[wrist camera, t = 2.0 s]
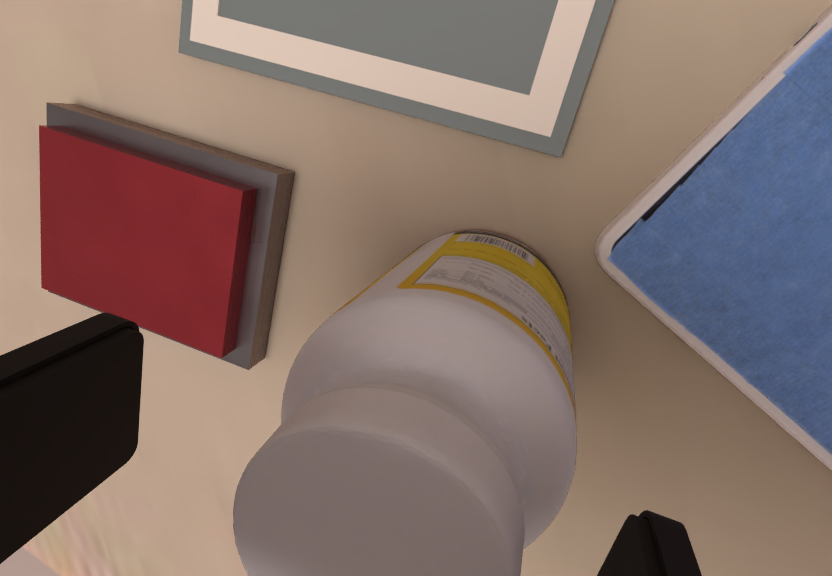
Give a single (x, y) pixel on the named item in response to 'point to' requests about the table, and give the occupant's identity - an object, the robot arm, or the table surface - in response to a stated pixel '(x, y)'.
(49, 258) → the ink pad
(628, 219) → the blue flat pad
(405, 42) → the marked board
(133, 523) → the table surface
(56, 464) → the robot arm
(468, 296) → the pill bottle
